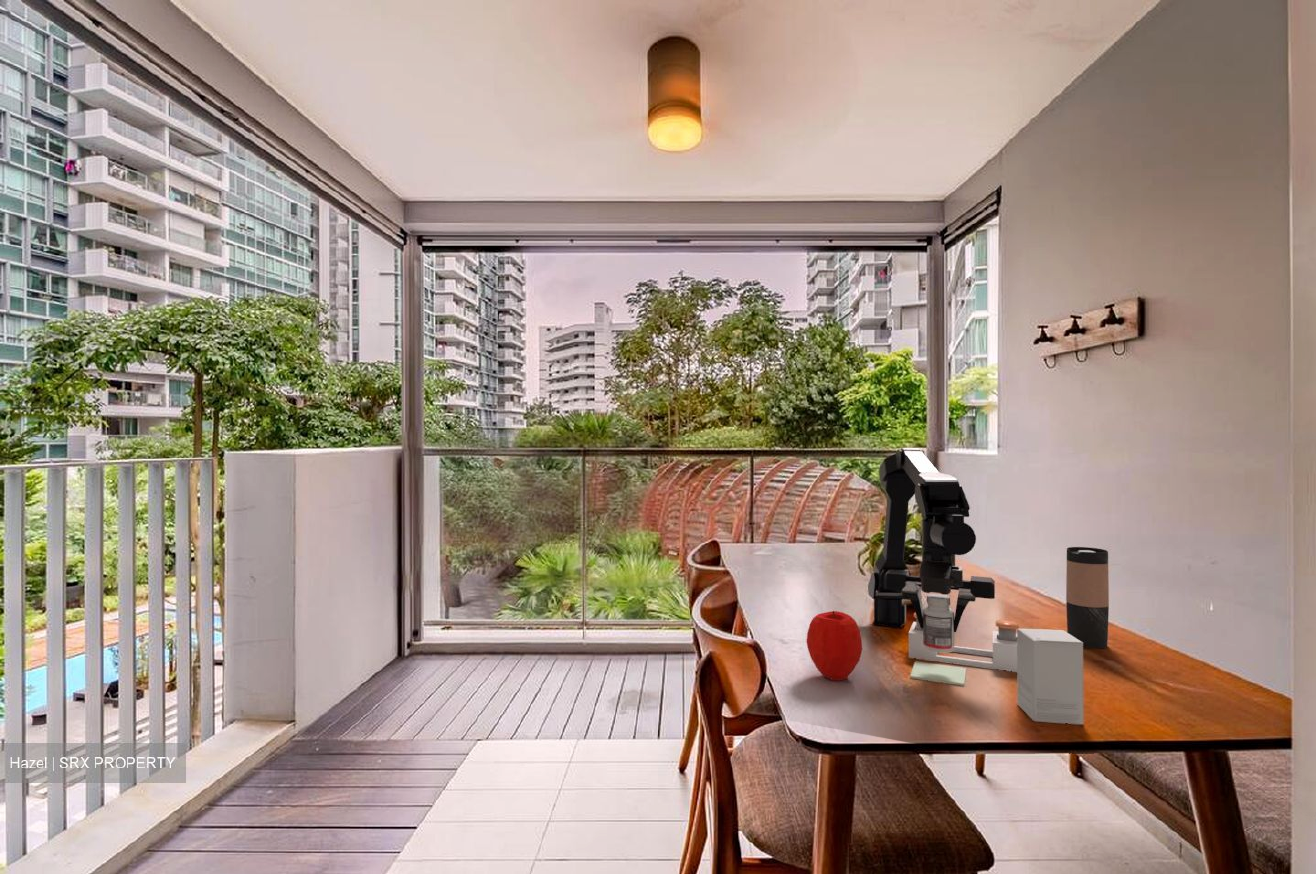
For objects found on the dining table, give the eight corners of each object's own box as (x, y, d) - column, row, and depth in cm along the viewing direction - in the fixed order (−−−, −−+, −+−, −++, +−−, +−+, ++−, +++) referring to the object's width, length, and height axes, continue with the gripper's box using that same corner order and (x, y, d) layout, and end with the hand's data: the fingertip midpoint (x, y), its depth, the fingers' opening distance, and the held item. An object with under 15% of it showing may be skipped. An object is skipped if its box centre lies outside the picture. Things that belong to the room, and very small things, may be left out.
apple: (813, 665, 131) (813, 601, 131) (866, 672, 127) (866, 607, 127) (800, 681, 122) (800, 613, 122) (857, 690, 118) (857, 620, 118)
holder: (908, 657, 135) (908, 632, 135) (913, 645, 144) (913, 621, 144) (1022, 673, 127) (1022, 646, 127) (1020, 659, 135) (1020, 633, 135)
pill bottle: (928, 642, 130) (928, 591, 130) (958, 648, 127) (958, 595, 127) (918, 649, 126) (918, 596, 126) (948, 655, 122) (949, 601, 122)
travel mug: (1105, 641, 147) (1105, 548, 147) (1112, 651, 140) (1111, 553, 140) (1064, 637, 150) (1064, 545, 150) (1068, 646, 143) (1068, 551, 143)
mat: (910, 678, 124) (910, 675, 124) (915, 663, 132) (915, 661, 132) (964, 686, 120) (964, 683, 120) (966, 670, 128) (966, 668, 128)
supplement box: (1085, 725, 104) (1084, 642, 104) (1032, 722, 105) (1032, 640, 105) (1065, 707, 111) (1064, 629, 111) (1015, 703, 112) (1015, 626, 112)
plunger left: (912, 640, 138) (912, 615, 138) (914, 635, 141) (914, 611, 141) (934, 643, 136) (934, 618, 136) (935, 637, 139) (935, 613, 139)
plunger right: (995, 650, 131) (995, 624, 131) (995, 644, 134) (995, 619, 134) (1019, 653, 129) (1019, 627, 129) (1018, 647, 133) (1018, 622, 133)
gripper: (879, 548, 123) (879, 634, 123) (994, 556, 115) (994, 649, 115) (887, 539, 133) (887, 619, 133) (994, 546, 125) (994, 632, 125)
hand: (938, 629), depth 126 cm, fingers closed on pill bottle, 5 cm apart
